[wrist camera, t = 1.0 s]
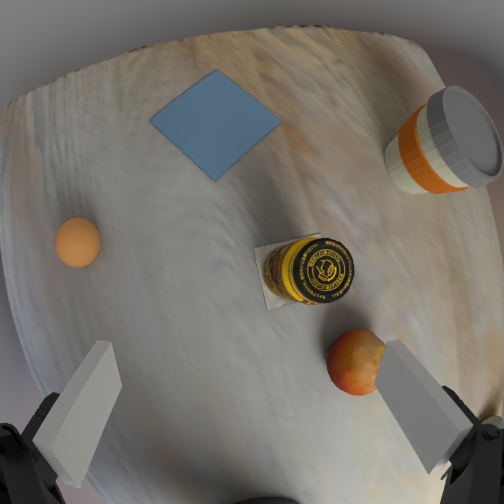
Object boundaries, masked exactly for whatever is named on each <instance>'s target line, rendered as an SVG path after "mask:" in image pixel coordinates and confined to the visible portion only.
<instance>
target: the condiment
mask: <svg viewBox="0 0 504 504" xmlns="http://www.w3.org/2000/svg"><path fill="white" fill-rule="evenodd" d="M253 249H254V253H255V258H256V262H257V267H258V271H259V276H260V280H261V285H262V289H263V293H264V297H265V302H266V306H267V310H269V309H273V308H277V307H281V306H284V305H288V304H292V303H296V302H301V303H304V304H307V305H309V304H310V305H314V304H321V303H331V302H333V301H337V300H338V299H340V298H342V297H343V296H344V295H345V294H346V293H347V292H348V290H349V288H350V285H351V283H352V280H353V277H354V264H353V259H352V256H351V254H350V252H349V251H348V249H347V248H345V246H344V245H343V244H342V243H341V242H338V241H336V240H332V239H329V238H321V234H316V235H312V236H307V237H303V238H298V239H293V240H289V241H284V242H280V243H275V244H270V245H266V246H261V247H257V248H253Z"/></svg>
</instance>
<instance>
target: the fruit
mask: <svg viewBox="0 0 504 504" xmlns="http://www.w3.org/2000/svg"><path fill="white" fill-rule="evenodd" d="M385 347H386V346H385V344H384V343H383V342H382V341H381V340H380V339H379V338H378V337H377V336H376V335H375V334H374V333H373V332H371V331H369V330H367V329H362V328H359V329H355V330H352V331H349V332H347V333H345V334H344V335H342V336H341V337H339V338H338V339H337V340H336V341H335V342H333V344H332V345H331V347H330V349H329V351H328V353H327V354H326V355H325V357H324V358H325V359H326V363H327V370H328V374H329V376H330V378H331V380H332V382H333V383H334V384H335V385H336V387H338V388H339V389H340V390H342V391H344V392H347V393H349V394H351V395H358V396H362V395H366V394H368V393H371V392H373V391H374V390H375V389H377V388H376V386H375V384H374V382H375V379H376V376H377V373H378V370H379V367H380V364H381V361H382V357H383V354H384V350H385Z"/></svg>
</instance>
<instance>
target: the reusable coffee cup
mask: <svg viewBox="0 0 504 504" xmlns="http://www.w3.org/2000/svg"><path fill="white" fill-rule="evenodd" d="M385 165H386V169H387V171H388V174H389V176H390V177H391V179H392V181H393V182H394V183H395V184H396V185H397V186H398V187H399V188H400V189H401V190H402V191H404V192H406V193H408V194H412V195H413V194H422V193H428V192H430V193H434V194H441V193H448V192H455V191H462V190H465V189H467V188H468V187H469V186H471V187H481V186H483V185H485V184H487V183H489V182H491V181H493V180H496V179H498V178H499V177H500V175H501V173H502V171H503V166H504V155H503V148H502V144H501V140H500V137H499V134H498V132H497V129H496V127H495V125H494V123H493V121H492V119H491V117H490V116H489V114H488V113H487V111H486V110H485V108H484V107H483V106H482V105H481V103H480V102H479V101H478V100H477V99H476V98H475V97H474V96H473V95H472V94H471V93H469V92H468V91H466V90H465V89H463V88H461V87H458V86H449V87H446V88H445V89H443V90H441V91H439V92H437V93H435V94H433V95H432V96H431V97H430V98H429V100H428V103H427V105H423V106H421V107H420V108H419V109H418V110H417V111H416V112H415V113H414V114H413V115H412V116H411V117H410V118H409V119H408V120H407V121H406V122H405V123H404V124H403V125H402V127H401V129H400V131H399V134H398V135H397V136H396V137H395V138H394V139H393V140H392V141H391V142H390V143H389V144H388V146H387V147H386V150H385Z"/></svg>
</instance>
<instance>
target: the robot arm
mask: <svg viewBox="0 0 504 504" xmlns="http://www.w3.org/2000/svg"><path fill="white" fill-rule="evenodd" d="M374 384H375V386H376V388H377V389H378V391H379V392H380V394H381V396H382V397H383V399H384V401H385V402H386V404H387V405H388V407H389V409H390V410H391V412H392V414H393V415H394V417H395V419H396V420H397V422H398V423H399V425H400V427H401V428H402V430H403V432H404V433H405V435H406V437H407V439H408V440H409V442H410V444H411V445H412V447H413V449H414V450H415V452H416V454H417V455H418V457H419V459H420V461H421V462H422V464H423V466H424V468H425V469H426V471H427V473H428V474H431V473H433V472H436V471H438V470H440V469H442V468H443V467H444V466H445V464H446V463H447V462H448V461H450V462H451V464H452V465H451V466H450V467H449V468H448V470H447V471H446V472H445V473H444V474H443V476H442V477H441V479H440V480H443V479H444V478H445V477H446V475H447V474H448V475H447V479H446V480H445V481H446V483H445V487H444V491H443V495H442V498H441V502H440V504H504V428H503V429H499V428H498V427H496V426H495V425H493V424H486V423H485V424H482V423H481V422H480V421H479V420H478V419H477V418H476V416H475V415H474V414H473V413H472V412H471V411H470V409H469V408H468V407H467V406H466V405H464V402H463V401H462V400H461V399H459V397H458V396H457V394H456V393H455V392H454V391H453V390H451V389H450V388H448V387H446V386H442V387H441V386H440V385H439V384H438V382H437V381H436V380H435V379H434V378H433V377H432V375H431V374H430V373H429V372H428V371H427V370H426V369H425V368H424V366H423V365H422V364H421V363H420V362H419V361H418V360H417V359H416V357H415V356H414V355H413V354H412V353H411V352H410V351H409V350H408V349H407V347H406V346H405V345H404V344H403V343H402V342H401V341H400V340H394V341H387V343H386V347H385V350H384V354H383V357H382V361H381V364H380V367H379V370H378V373H377V376H376V379H375V382H374ZM121 388H122V383H121V379H120V375H119V371H118V367H117V363H116V359H115V355H114V350H113V346H112V342H109V341H101V340H97V341H96V343H95V344H94V346H93V347H92V348H91V350H90V351H89V353H88V354H87V356H86V357H85V358H84V360H83V361H82V363H81V364H80V366H79V367H78V369H77V370H76V372H75V373H74V374H73V376H72V377H71V379H70V380H69V382H68V383H67V385H66V387H65V388H64V390H63V391H62V393H61V394H58V393H55V392H53V393H51V394H50V395H49V396H47V397H46V398H45V399H44V400H43V402H42V403H41V405H40V406H39V409H37V411H36V412H35V415H33V417H32V418H31V420H30V421H29V423H28V424H27V426H26V428H25V429H24V431H23V432H22V434H21V435H20V434H19V432H18V430H17V429H16V428H15V427H14V426H13V425H11V424H8V423H1V424H0V504H66V503H65V501H64V499H63V497H62V494H61V492H60V490H59V487H58V486H57V484H56V482H55V481H56V479H57V477H59V478H60V479H61V481H62V482H63V483H64V484H67V485H70V486H72V487H75V488H78V489H81V487H82V484H83V482H84V479H85V476H86V474H87V471H88V468H89V466H90V463H91V460H92V458H93V455H94V453H95V450H96V447H97V445H98V442H99V440H100V438H101V435H102V433H103V430H104V428H105V425H106V423H107V421H108V418H109V416H110V413H111V411H112V409H113V406H114V404H115V402H116V400H117V397H118V395H119V393H120V391H121ZM237 504H298V503H296V502H294V501H291V500H288V499H283V498H258V499H252V500H247V501H244V502H240V503H237Z"/></svg>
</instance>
